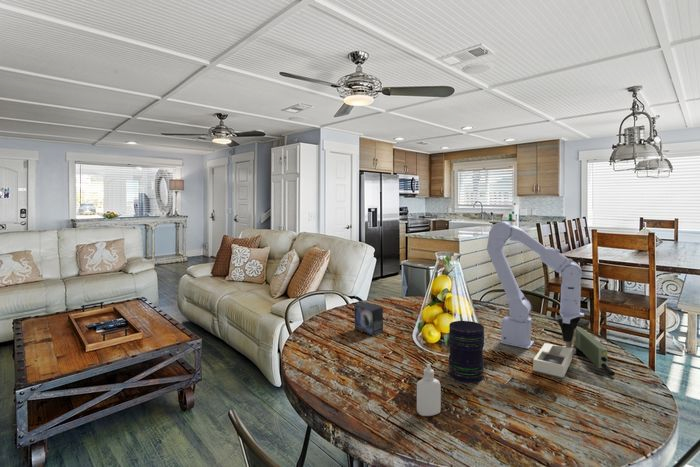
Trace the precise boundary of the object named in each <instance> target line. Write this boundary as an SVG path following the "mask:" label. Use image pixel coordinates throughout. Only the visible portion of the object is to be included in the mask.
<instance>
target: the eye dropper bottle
mask: <svg viewBox="0 0 700 467" xmlns="http://www.w3.org/2000/svg"><path fill="white" fill-rule="evenodd" d="M434 376H435V371H434V369H433V368H432V367H431V364H429V363H427V364H426V368H423V377H422V379H420V380H418V381H417V383H416V412H417V413H418V415H420V416H421V417H431V416H435V415H438V414H439V413H440V412H441V409H442V407H441V402H442V401H441V398H442V396H441V393H442V391H441V390H442V389H441V388H442V387H441V383H440V382H441V381H440V380H438V379H437V378H435V377H434Z"/></svg>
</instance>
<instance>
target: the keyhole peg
mask: <svg viewBox="0 0 700 467" xmlns="http://www.w3.org/2000/svg"><path fill="white" fill-rule="evenodd" d="M561 336H562V338H561V341H562V342H565V345H562V346H563V347H568V348H573V354H572V355H576V354H577V347H574V346H572V344H574V343H575V341H576V329H575V330H574V333H573V338H572V341H571V342H566V341H564V340H563V335H562V334H561Z"/></svg>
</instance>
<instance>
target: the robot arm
mask: <svg viewBox="0 0 700 467" xmlns="http://www.w3.org/2000/svg"><path fill="white" fill-rule="evenodd" d="M487 240H488V241H487V244H486V251H487V253H488V255H489V258H490V260H491V262H492V265H493V267H494V269H495V272H496V274H497V276H498V279H499V281H500V283H501V286H502V288H503V290H504V293H505V295H506V300H507V301H506V302H507V305H508V308H509V309H508V313H509V315H508V316H504V317H503V318H502V320H501V326H500V329H501V331H500V343H501V344H504V345H508V346H514V347H517V348H523V349H527V350H528V349H530V348H531V347H532V346H533V344H534V343H535V341H534V340H532V318H531V316H530V312H531V310H532V304H531V302H530V301H529V300H528V299H527V298H526V296H525V295H524V292H522V290H521V289H520V287H519V284H518V282H517V279H516V278H515V275H514V273H513V270H512V267H511V266H510V264H509V262H508V260H507V257H506V255H505V252H504V250H503V249H504V247H505V245H506V242H507V241H508V240H509V241H514V242H520V244H522V245H525V247H527V248H528V249H530V250H532V251H533V252H535V253H536V254H538V256H539V259H540V261H541V262H542V263H543V264H545V265H546V266H548V267H549V268H550V269H551V270H553V271H554V272H556V273H559V274H560V276H561V285H560V305H559V306H560V307H559V308H560V309H559V315H560V316H561V317H562V318H558V319H557V324H558V325H559V327H560V331H561V336H562V335H563V340H564V341H566V342H571V341H572V338H573V333H574V330H575V329H576V328H577V327H578V324H579V322H580V321H581V319H582V317H585V313H584V312H581V299H582V298H581V295H582V286H581V284H582V281H581V279H582V277H583V272H582V268H581V266H580V265H579V264H578V262H576V261H573V259H572V258H568V257H567V256H565V255H564V254H563V253H561V250H560V249H559V248H554V247H546V246H545V245H543V244H542V243H540V242H539V241H538V240H537V239H535V238H534V237H533V236H531V235H530V234H529V233H528V232H526V231H525V230H524V229H522V228H520V227H519V226H517V225H516V224H513V223H512V222H510V221H509V220H502V221H499V222H496V223H495V224H493V225H492V227H491V229H490V230H489V232H488V238H487ZM564 341H563V342H564ZM566 342H565V343H566Z"/></svg>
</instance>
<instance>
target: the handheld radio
mask: <svg viewBox="0 0 700 467" xmlns="http://www.w3.org/2000/svg"><path fill="white" fill-rule="evenodd" d="M573 345H574V346H575V348H576V349H578V350H579V351H580V352H581V351H582V352H583V353H582V352H581V353H582V354H583V355H584V356H585V357H586V358H587V359H588V360H590V361H591V362H592V363H593V364H594V365H595V366H596V367H597V368H598V369H600V368H604V369H603V370H604V371H605V372H607V373H608V374H609V375H610V376H612V377H613V376H615V375H616V373H615V371H613V369H611V368H610V367H609V366H608V348H607V347H606V346H605V345H603V344H602V343H601V342H599V340H597V339H596V338H594V337H593V336H592V335H590V333H588V332H587V331H586V330H584V329H583V328H582V327H581V326H577V328H576V341H575V343H573Z"/></svg>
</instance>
